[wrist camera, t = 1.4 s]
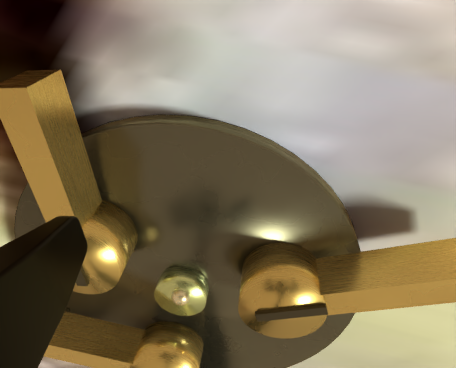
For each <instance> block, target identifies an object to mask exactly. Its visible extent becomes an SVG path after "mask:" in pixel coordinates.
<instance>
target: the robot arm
mask: <svg viewBox="0 0 456 368" xmlns="http://www.w3.org/2000/svg"><path fill="white" fill-rule="evenodd" d="M87 248H88V245H87V240H86V238H85V235H84V232H83V229H82V227H81V224H80V221H79V219H78V218H77V217H75V216H57V217H55V218H53V219H52V220H50V221H48V222H46V223H44V224H42V225H40V226H39V227H37V228H35V229H33V230H31V231H29V232H27V233H26V234H24V235H22V236H20V237H18V238H16V239H15V240H13V241H11V242H9V243H7V244H5V245H3V246H2V247H0V368H38V366H39V364H40V362H41V360H42V358H43V356H44V354H45V352H46V350H47V348H48V346H49V344H50V342H51V339H52V337H53V335H54V333H55V331H56V329H57V327H58V325H59V323H60V321H61V319H62V317H63V314H64V312H65V310H66V307H67V305H68V302H69V300H70V297H71V294H72V292H73V289H74V286H75V283H76V281H77V278H78V275H79V272H80V270H81V267H82V264H83V261H84V259H85V256H86V253H87Z"/></svg>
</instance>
